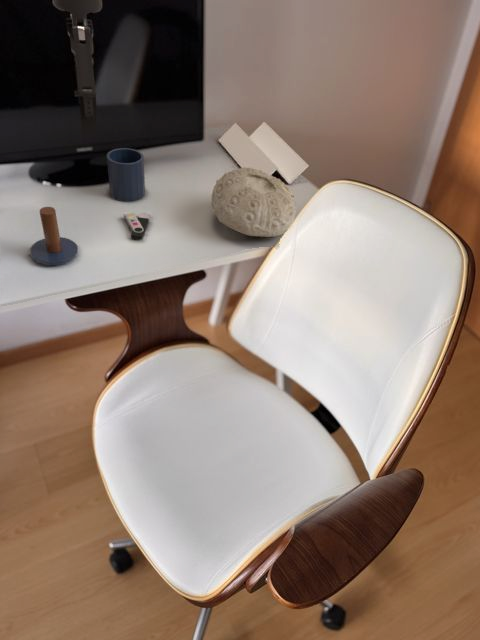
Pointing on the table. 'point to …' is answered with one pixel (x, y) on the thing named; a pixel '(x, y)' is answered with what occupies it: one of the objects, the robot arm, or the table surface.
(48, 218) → the lid
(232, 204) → the decorative shell
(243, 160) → the z bracket
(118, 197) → the tin
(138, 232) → the usb flash drive
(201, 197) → the table surface
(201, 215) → the table surface
